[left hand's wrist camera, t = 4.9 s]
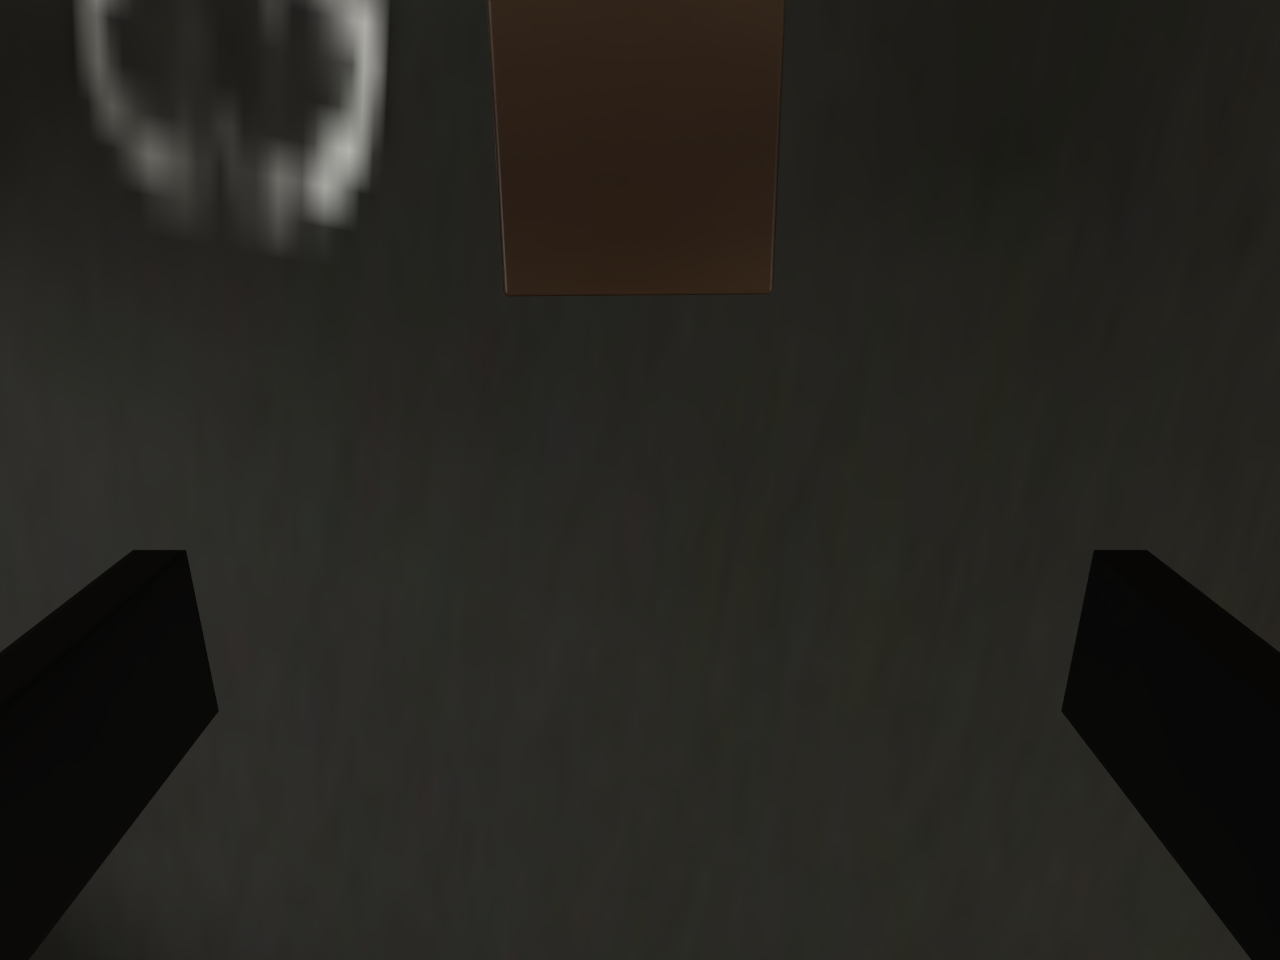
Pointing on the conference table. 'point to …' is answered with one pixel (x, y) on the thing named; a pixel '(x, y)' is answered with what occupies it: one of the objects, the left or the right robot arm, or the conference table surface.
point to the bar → (637, 144)
